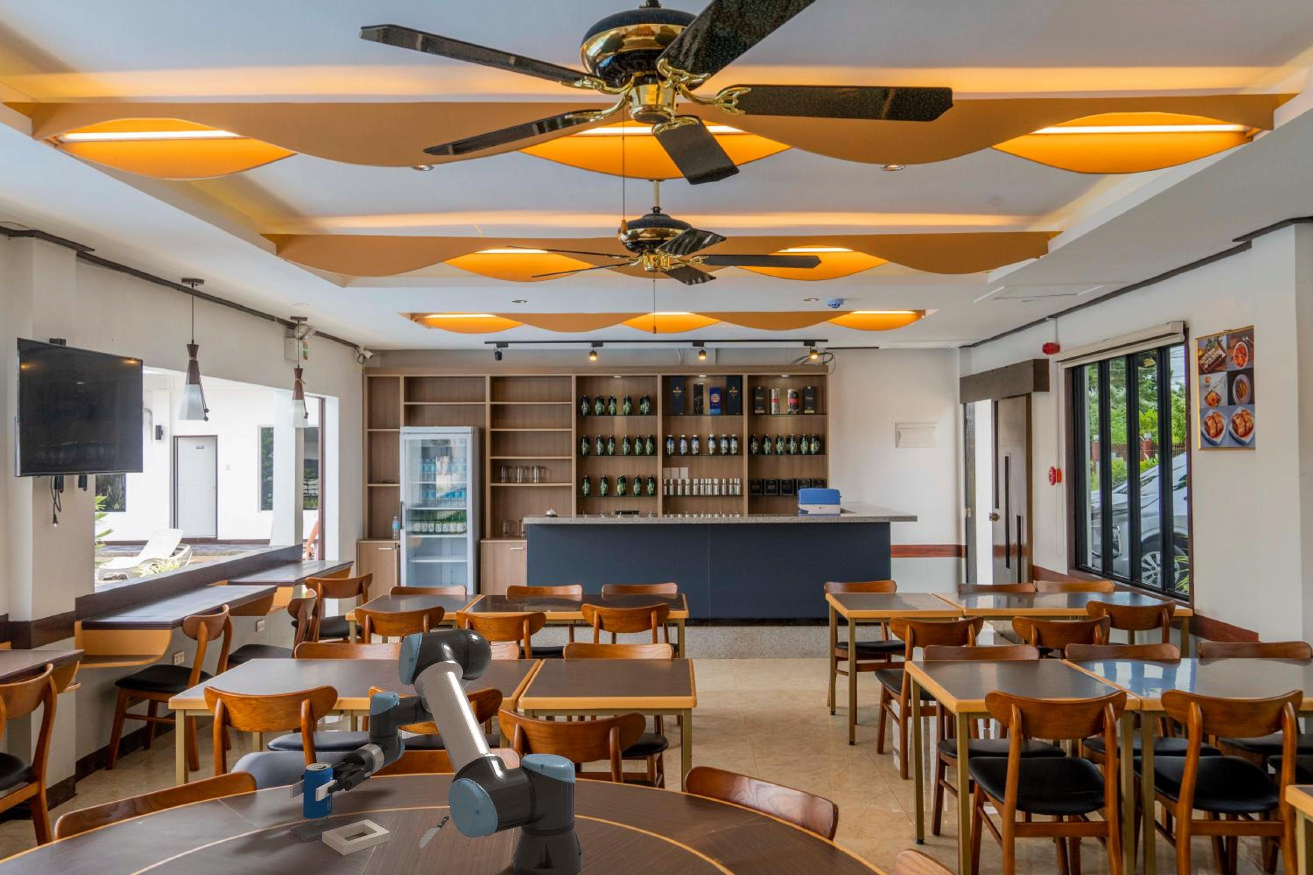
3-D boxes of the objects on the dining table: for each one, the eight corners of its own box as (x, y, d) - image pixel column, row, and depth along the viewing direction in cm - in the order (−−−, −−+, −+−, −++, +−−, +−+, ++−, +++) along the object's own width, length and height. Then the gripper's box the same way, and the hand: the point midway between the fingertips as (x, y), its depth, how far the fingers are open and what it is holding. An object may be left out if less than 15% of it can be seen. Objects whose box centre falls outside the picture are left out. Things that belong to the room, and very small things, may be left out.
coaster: (343, 831, 204) (343, 826, 204) (306, 842, 198) (306, 837, 198) (327, 821, 210) (327, 816, 210) (290, 831, 204) (290, 827, 204)
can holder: (389, 840, 198) (389, 831, 199) (343, 855, 190) (343, 846, 191) (367, 827, 206) (367, 818, 206) (322, 840, 198) (322, 832, 199)
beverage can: (321, 822, 201) (322, 771, 201) (297, 820, 202) (298, 769, 203) (337, 812, 207) (338, 762, 208) (313, 810, 208) (314, 760, 209)
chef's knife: (407, 852, 193) (420, 851, 193) (407, 847, 193) (420, 846, 193) (438, 819, 212) (450, 819, 212) (438, 815, 212) (449, 814, 212)
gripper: (394, 780, 219) (339, 813, 197) (329, 774, 224) (268, 805, 202) (395, 751, 220) (340, 780, 198) (330, 745, 225) (269, 773, 203)
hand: (304, 793), depth 200 cm, fingers closed on beverage can, 6 cm apart
